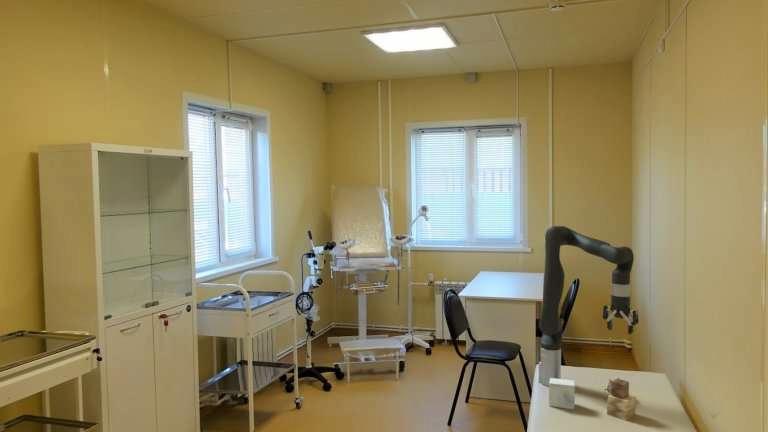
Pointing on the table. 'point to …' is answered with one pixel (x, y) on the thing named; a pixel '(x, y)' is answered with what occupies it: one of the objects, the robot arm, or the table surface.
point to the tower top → (622, 402)
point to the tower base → (620, 413)
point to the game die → (609, 387)
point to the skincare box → (562, 393)
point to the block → (620, 388)
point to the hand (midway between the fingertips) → (620, 331)
